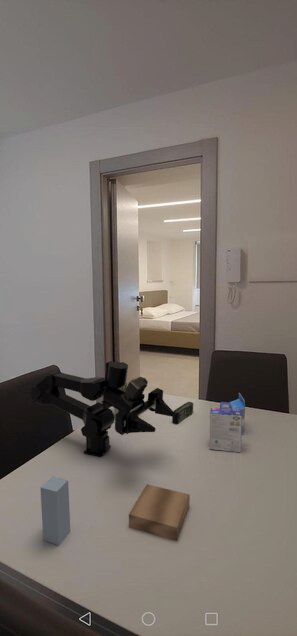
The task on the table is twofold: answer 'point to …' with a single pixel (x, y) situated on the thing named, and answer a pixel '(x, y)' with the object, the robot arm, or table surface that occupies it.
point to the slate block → (55, 510)
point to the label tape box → (239, 405)
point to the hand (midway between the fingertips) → (165, 422)
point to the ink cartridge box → (225, 428)
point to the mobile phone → (182, 412)
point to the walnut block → (160, 512)
